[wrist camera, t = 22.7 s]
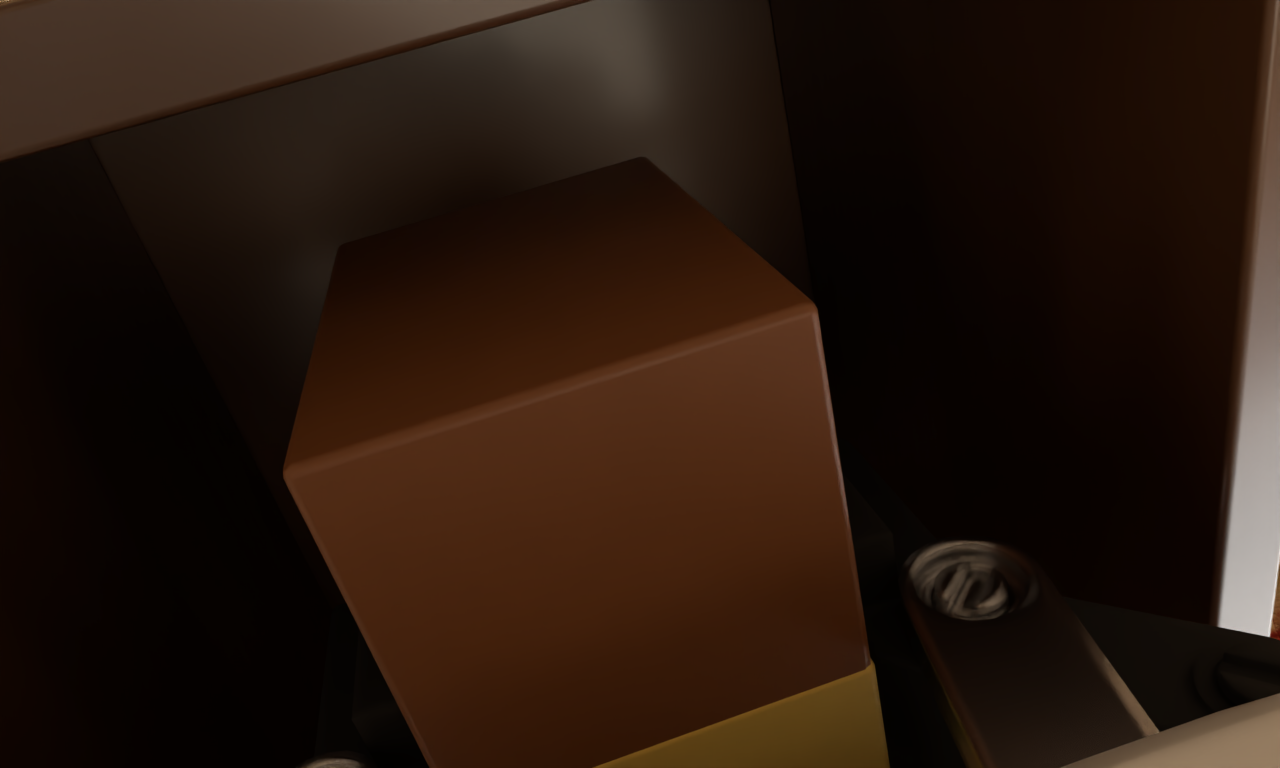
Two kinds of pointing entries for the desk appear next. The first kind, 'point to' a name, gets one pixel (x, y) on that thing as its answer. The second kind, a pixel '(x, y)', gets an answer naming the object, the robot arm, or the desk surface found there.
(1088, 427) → the chest
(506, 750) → the candy bar
